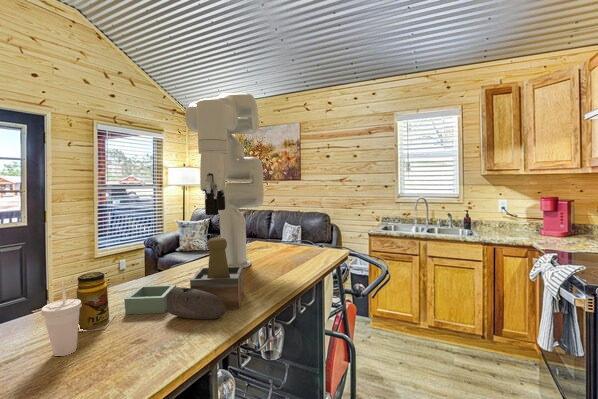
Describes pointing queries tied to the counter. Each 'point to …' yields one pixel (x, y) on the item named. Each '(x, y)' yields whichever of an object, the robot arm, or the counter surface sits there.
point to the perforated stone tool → (194, 304)
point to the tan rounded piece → (217, 258)
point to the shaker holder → (148, 299)
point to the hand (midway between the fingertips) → (216, 212)
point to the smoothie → (62, 324)
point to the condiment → (93, 302)
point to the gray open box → (221, 286)
